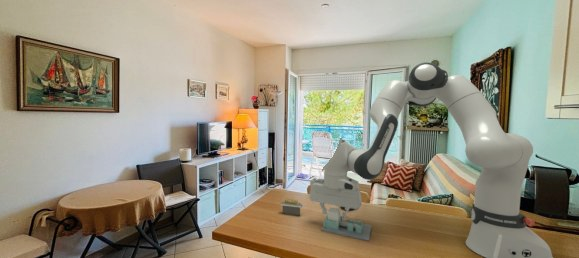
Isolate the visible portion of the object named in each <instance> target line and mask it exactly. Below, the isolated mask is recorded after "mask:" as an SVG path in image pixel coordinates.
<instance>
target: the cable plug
mask: <svg viewBox="0 0 579 258" xmlns="http://www.w3.org/2000/svg"><path fill="white" fill-rule="evenodd" d="M327 215H328V221H333V222H338V223H339V226H343V227H348V222H343V221H340V216H341V208H339V207H334V206H333V207H332V206H330V207H329V209H328V210H327ZM350 224H353V223H350ZM356 225H358V224H353V229H356ZM360 226H361V225H360Z"/></svg>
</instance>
